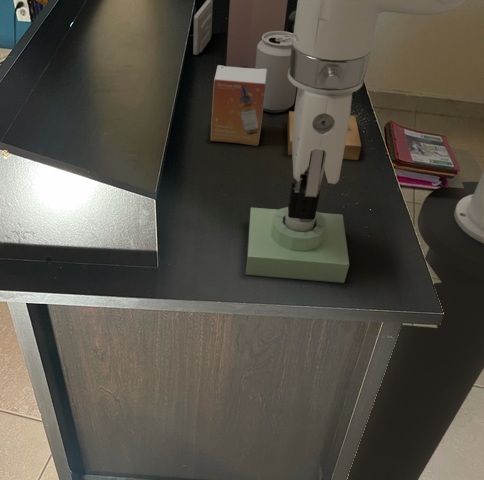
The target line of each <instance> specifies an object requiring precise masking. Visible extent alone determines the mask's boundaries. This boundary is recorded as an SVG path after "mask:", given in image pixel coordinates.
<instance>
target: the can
mask: <svg viewBox="0 0 484 480" xmlns="http://www.w3.org/2000/svg"><path fill="white" fill-rule="evenodd" d="M292 40H293V33H290V32H286V30H284V31H271V32H267V33H265V34H264V35H263V36H262V40H261V41H260V42H259V43H258V45H257V54H256V65H255V69H267V79H266V89H265V97H264V106H263V112H267V113H271V114H273V113H274V114H275V113H283V112H285V111H287V110H289V109H290V108H291V107H292V106H294V105H295V102H296V95H297V87H296V86H294V85H293V84H292V83H291V82H290V81H289V79H288V71H289V63H290V55H291V48H292Z"/></svg>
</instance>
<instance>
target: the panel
mask: <svg viewBox="0 0 484 480" xmlns="http://www.w3.org/2000/svg"><path fill="white" fill-rule="evenodd" d="M287 116H288V117H287V123H286V129H287V131H286V132H287V133H286V134H287V155H288V156H292V132H293V120H294V111H292V110H291V111H290V110H289V111H288V115H287ZM360 137H361V136H360V132H359V127H358V122H357V117H356V115H352V114H350V119H349V126H348V132H347V138H346V143H345V149H344V154H343V160H353V161H356V160H357V161H359V158H360V154H361V150H362V142H361V138H360Z"/></svg>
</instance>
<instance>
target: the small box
mask: <svg viewBox="0 0 484 480" xmlns="http://www.w3.org/2000/svg"><path fill="white" fill-rule="evenodd" d="M266 79H267V69H253V68H248V67H228V66H226V65H220V64H217V66H216V70H215V75H214V79H213V91H212V104H211V105H212V107H211V124H210V139H209V140H210V142H223V143H232V144H241V145H250V146H256V147H257V146H259V144H260V139H261V138H260V137H261V130H262V123H263V116H264V115H263V114H264V111H263V106H264V97H265V89H266Z"/></svg>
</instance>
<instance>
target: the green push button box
mask: <svg viewBox="0 0 484 480" xmlns="http://www.w3.org/2000/svg"><path fill="white" fill-rule="evenodd" d="M249 210H250V211H249V219H248V230H247V245H246V248H247V249H246V262H245V263H246V264H245V265H246V266H245V275H247V276H256V277H257V276H258V277H270V278H283V279H293V280H304V281H305V280H306V281H315V282H316V281H317V282H329V283H340V284H344V283H345V282H346V279H347V275H348V272H349V267H350V260H349V251H348V244H347V238H346V230H345V223H344V222H345V221H344V215H343V214H341V213H329V212H328V213H327V212H319V211H318V210H316V219H315V224H314V229H313V230H312V231H308V232H295V231H293V230H291V229H288V228H287V227H286V226H285V225H284V223H285V216H286V212H287V210H288V206H285V207H282V208H279V209H277V208H264V207H250V209H249Z"/></svg>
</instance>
